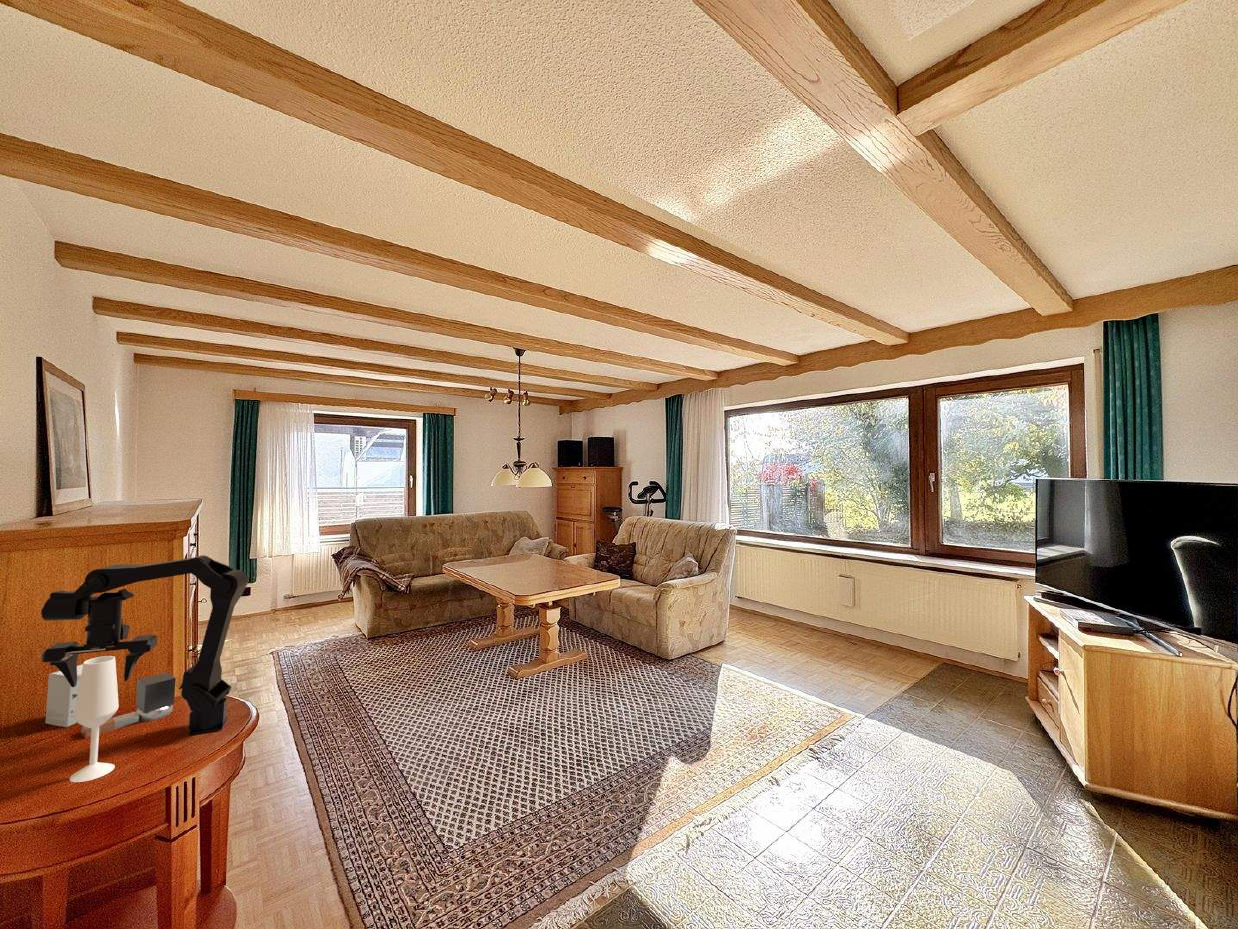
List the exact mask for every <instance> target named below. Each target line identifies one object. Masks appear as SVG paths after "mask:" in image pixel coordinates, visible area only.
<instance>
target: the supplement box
mask: <svg viewBox="0 0 1238 929" xmlns="http://www.w3.org/2000/svg"><path fill="white" fill-rule="evenodd" d="M82 669H83V663H82V664H79V665H77V684H76V686H75V687H71V685H70V684H69V682H68V681H67V679H66V678H65V676H64V675H63V673H62V672H61V671H60V670H58V671H54V672H51V673H49V674H48V683H47V693H46V694H47V696H46V710H45V712H46V713H45V724H48V725H52V726H57V727H62V726H63V728H68V727H70V726H73V725H75V724H78V723H77V722H76V721H75V719H74V717H73V716H74V710H75V705H76V700H77V695H78V689H79V684H80V679H81V674H82Z"/></svg>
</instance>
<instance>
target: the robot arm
mask: <svg viewBox="0 0 1238 929" xmlns="http://www.w3.org/2000/svg"><path fill="white" fill-rule="evenodd" d="M190 574H191V575H193V576H195V577H196V578H197V579H198V580H199V581H200V582H201V584H203V585H204V586H206V587H208V588H209V589H210V593H209V599H210V603H211V611H210V614H209V615H210V616H209V619H208V622H207V626H206V629H205V633H204V636H203V641H202V644H201V647H200V651H199V654H198V659H197V662H196V663H195V664H193V665H192V666H191V667H189V668H188V669H187V670H185V671H184V672H183V674H182V682H181V685H180V686H179V688H178V690H181V691H180V695H181V697H182V698H184V699H183V700H185V701H186V703H187V704H188V708H189V709H190V712H189V718H188V719H189V720H188V730H190V731H189V733H188V735H190V736H191V735H198V734H203V733H210V732H211V733H212V732H216V731H221V730H223V728H224V727H225V724H226V722H227V721H228V716H227V703H228V702H227V700H228V697H227V696H228V695H229V693H230V691H231V690H232V685H230V684H229V683H227V681H225V680H224V679H223V678H222V672H223V671H222V670H223V667H222V665H221V656H222V653H223V649H224V645H225V642H226V638H227V634H228V631H229V626H230V625H231V624H230V623H231V619H232V616H233V613H234V609H235V607H236V605H237V603H238V602H239V600H240V598H241V597H242V596H243V593H244V592H245V589H246V588H247V586H248V583H249V576H248V575H247V574H246V572H244V571H243V570H240V569H234V568H233V567H231V566H229V565H227V564H225V563H223V562H219V561H217V560H214V559H213V558H211V557H209V556H207V555H206V554H205V555H198V556H197V555H196V556H195V557H188V558H182V559H175V560H170V561H162V562H155V563H150V564H149V563H148V564H128V563H127V564H124V563H122V564H119V563H117V564H111V565H108V566H104V567H100V568H96V569H93V570H91V571H89V572H88V573H87V574H86V576H85V578H84V582H83V583H82V584H81V585H80V586H79V587H78V588H77V589H76V590H75V591H74V590H72V591H68V590H67V591H66V590H56V591H53V592H50V593H49V598H48V599H47V600H46V601H45V603H43V604H44V605H43V607H42V608H41V611H40V614H41V617H42V620H44V621H46V622H52V621H54V622H55V621H74V620H75V621H78V620H82V619H83V618H84V617H85V616H87V623H86V626H84V632H86V638H85V644H80V645H79V643H78V642H77V640H76V641H65V642H57V643H55V644H53V645H51V646H50V647H48V648H47V649H45V650H44V651H43V652H42V655H41V662H42V663H49V666H55V667H56V668H57V669H58V671H61V672H62V673H63V675H64V676H65V678H66V679H67V681H68V682H69V684H70V685H71V687H75V686H76V684H77V666H78V664H77V662H78V658H79V655H80V654H90V653H101V652H102V653H103V652H112V651H121V650H122V651H123V650H127V651H128V652H129V653H128V654H126V655H125V662H124V673H123V676H124V677H123V678H124V682H127V681H128V680H129V679H130V677H131V675H132V672H133V671H134V668H135V666H136V664H137V663H138V660H139V658H140V657H143V656H144V655H145V654H146V653H149V652H152V650H153V649H154V648H156V647H157V645H158V639H159V638H158V636H157V635H156V634H145V635H144V634H143V635H137V636H135V637H134V638H132V639H131V640H126V641H124V639H128V637H129V633H130V627H131V625H130V624H124V618H122V615H123V614H122V613H123V601H126V600H129V599H131V598H134V597H135V594H134V593H132V592H130V591H129V590H128V589H127V588H122V587H125V586H128V585H130V584H134V583H140V582H145V581H151V580H157V579H158V580H159V579H164V578H170V577H177V576H183V575H190ZM118 588H122V589H119V590H118V591H117V592H116V591H114V592H109V591H113V590H115V589H118ZM96 594H99V595H96ZM93 595H95V596H93Z"/></svg>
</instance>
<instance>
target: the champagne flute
mask: <svg viewBox="0 0 1238 929" xmlns="http://www.w3.org/2000/svg"><path fill="white" fill-rule="evenodd" d="M82 664H83V669H82V674H81V679H80V684H79V689H78V695H77V700H76V705H75V710H74V716H73V717H74V719H75V721H76V722H77V723H76V724H79V725H81V726H82V725H83V726H85V727H87V728H92V730H91V737H90V746H89V748H90V749H89V750H90V751H89V764H87V765H86V766H84V767H83V768H81V769H80V770H78V771H76V772H75V773H74V774H72V775H71V776H70V777H69V781H70V782H71V783H81V782H82V783H83V782H88V781H92V780H95V779H98V778H102V777H103V776H106V775H107V774H109V773H111V772H112V771H113V770H115V768H116V767H115V764H113V763H110V762H99V761H98V757H99V739H100V734H99V726H101V725H103V724H104V723H105V722H106V721H107V720H109V719H110V718H111V717H112V718H113V716H114V715H115V714H116V712H117V711H118V709H119V692H118V690H119V688H118V678H117V675H118V674H117V665H116V664H117V663H116V656H113V655H105V656H97V657H93V658H90V659H87V660H85V661H84V662H83V663H82Z"/></svg>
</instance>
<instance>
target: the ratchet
mask: <svg viewBox="0 0 1238 929" xmlns="http://www.w3.org/2000/svg"><path fill="white" fill-rule="evenodd" d="M173 707H174V705H170V706H167V707H163V708H160V709H156V710H153V711H150V712H146V713H143V712H142V711H141V710H139V709H138V708H137V707H136V711H133V712H129V713H124V714H121V715H118V716H114V717H113V716H112V717H111V718H110V719H109V720H107V721H106V722H105V723H104V724H103V725H101V726H99V735H101V734H105V733H108V732H111V731H114V730H118V729H120V728H123V727H128V726H130V725H135V724H137V723H139V722H144V723H145V722H151V721H156V719H157V720H160V719H163V718H166V717H167V715H168V716H169V715H171V714H172V713H173V709H174V708H173ZM171 712H172V713H171ZM170 713H171V714H170ZM159 718H160V719H159ZM91 730H92V728H87V727H85V726H83V725H81V731H80V732H81V735H82V736H83V738H84V739H89V738H91Z"/></svg>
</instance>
